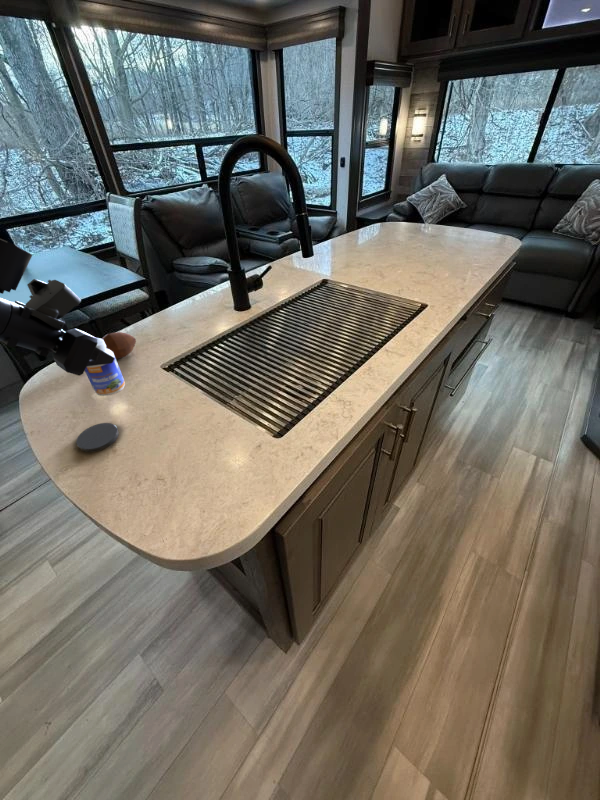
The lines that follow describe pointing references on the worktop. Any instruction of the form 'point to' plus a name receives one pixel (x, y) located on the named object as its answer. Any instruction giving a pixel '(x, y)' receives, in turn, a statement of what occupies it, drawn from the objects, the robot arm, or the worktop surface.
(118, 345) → the potato
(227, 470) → the worktop surface
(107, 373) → the pill bottle
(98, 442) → the coaster
